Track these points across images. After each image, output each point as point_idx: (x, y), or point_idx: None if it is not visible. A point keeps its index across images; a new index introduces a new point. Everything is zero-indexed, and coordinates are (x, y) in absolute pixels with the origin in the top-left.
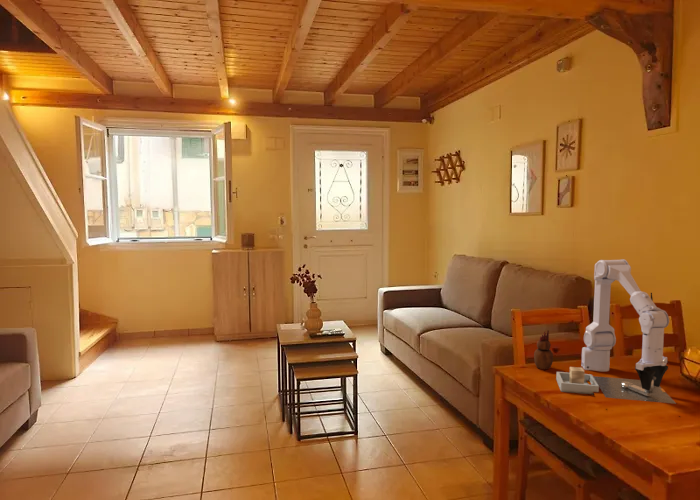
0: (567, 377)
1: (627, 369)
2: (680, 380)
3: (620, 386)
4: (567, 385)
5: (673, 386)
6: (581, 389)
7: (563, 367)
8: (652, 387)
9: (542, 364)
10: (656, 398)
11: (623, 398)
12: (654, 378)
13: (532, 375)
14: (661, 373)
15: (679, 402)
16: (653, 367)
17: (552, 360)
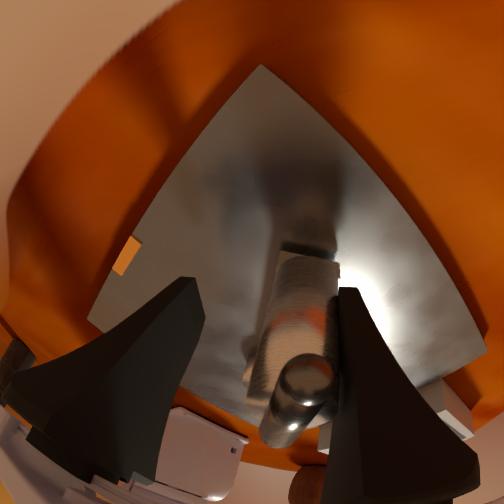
0: None
1: None
2: (11, 269)
3: None
4: (470, 426)
5: (46, 258)
6: (459, 407)
7: (265, 457)
8: (309, 293)
9: None
10: (302, 208)
11: (465, 314)
12: (328, 376)
13: None
14: (114, 374)
15: (161, 110)
16: (137, 453)
17: (306, 485)
